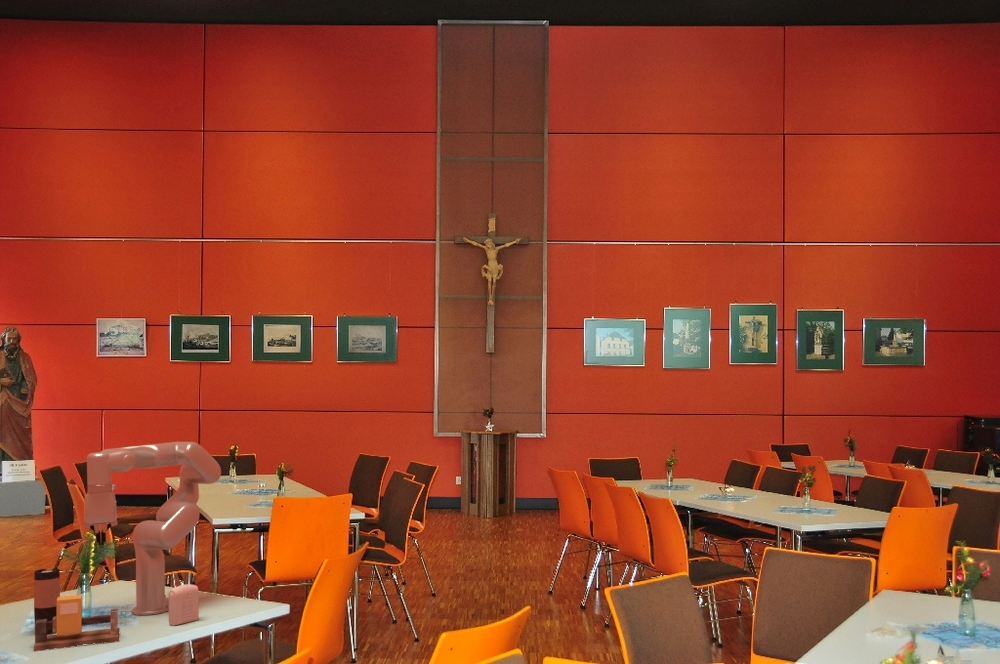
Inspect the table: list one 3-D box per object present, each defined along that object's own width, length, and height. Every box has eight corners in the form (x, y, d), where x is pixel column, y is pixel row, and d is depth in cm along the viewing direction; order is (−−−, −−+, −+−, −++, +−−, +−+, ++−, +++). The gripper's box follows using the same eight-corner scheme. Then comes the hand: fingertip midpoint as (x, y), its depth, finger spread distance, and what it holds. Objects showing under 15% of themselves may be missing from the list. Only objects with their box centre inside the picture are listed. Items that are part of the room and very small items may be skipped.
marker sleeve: (82, 628, 304) (82, 594, 304) (81, 632, 298) (81, 598, 299) (57, 631, 301) (57, 597, 302) (56, 635, 296) (56, 600, 296)
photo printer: (192, 618, 327) (192, 581, 327) (200, 619, 324) (200, 582, 325) (166, 625, 318) (166, 587, 319) (174, 626, 316) (174, 588, 317)
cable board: (119, 632, 310) (119, 605, 311) (119, 641, 299) (118, 613, 300) (37, 641, 302) (37, 614, 302) (33, 651, 291) (33, 622, 291)
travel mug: (43, 636, 307) (43, 573, 308) (29, 633, 312) (29, 571, 312) (65, 630, 314) (64, 569, 315) (50, 628, 318) (50, 567, 319)
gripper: (123, 486, 329) (124, 540, 328) (75, 490, 323) (76, 545, 322) (124, 488, 322) (125, 543, 321) (75, 492, 316) (76, 548, 315)
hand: (101, 544), depth 322 cm, fingers closed
